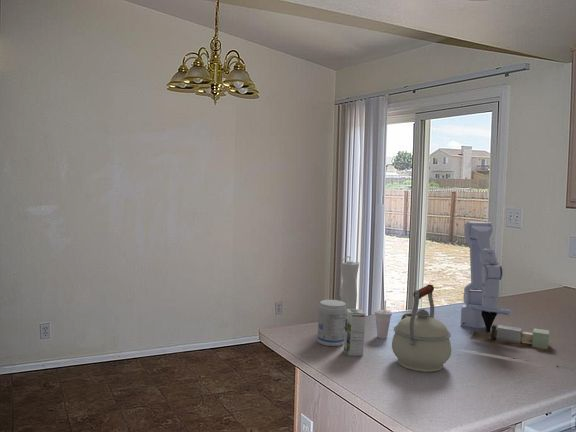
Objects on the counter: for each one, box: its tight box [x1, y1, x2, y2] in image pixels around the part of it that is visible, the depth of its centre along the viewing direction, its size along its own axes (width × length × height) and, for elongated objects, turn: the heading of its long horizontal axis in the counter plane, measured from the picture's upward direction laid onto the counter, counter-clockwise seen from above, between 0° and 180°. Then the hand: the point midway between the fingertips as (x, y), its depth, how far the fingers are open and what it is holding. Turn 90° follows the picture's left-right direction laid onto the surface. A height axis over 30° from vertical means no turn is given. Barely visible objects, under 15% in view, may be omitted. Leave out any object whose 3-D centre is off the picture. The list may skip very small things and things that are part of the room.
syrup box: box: [343, 308, 366, 357], centre depth 168 cm, size 6×6×14 cm
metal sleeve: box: [496, 324, 523, 344], centre depth 186 cm, size 8×5×5 cm, turn 61°
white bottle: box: [339, 256, 360, 319], centre depth 201 cm, size 8×8×28 cm
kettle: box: [391, 284, 452, 373], centre depth 160 cm, size 25×18×25 cm
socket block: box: [532, 327, 550, 349], centre depth 181 cm, size 5×6×5 cm
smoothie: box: [374, 300, 393, 339], centre depth 188 cm, size 6×6×14 cm
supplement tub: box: [317, 299, 346, 347], centre depth 178 cm, size 10×10×15 cm
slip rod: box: [490, 323, 533, 343], centre depth 185 cm, size 16×4×4 cm, turn 61°
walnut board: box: [469, 330, 552, 353], centre depth 186 cm, size 27×12×1 cm, turn 61°
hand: (488, 331), depth 190 cm, fingers closed
